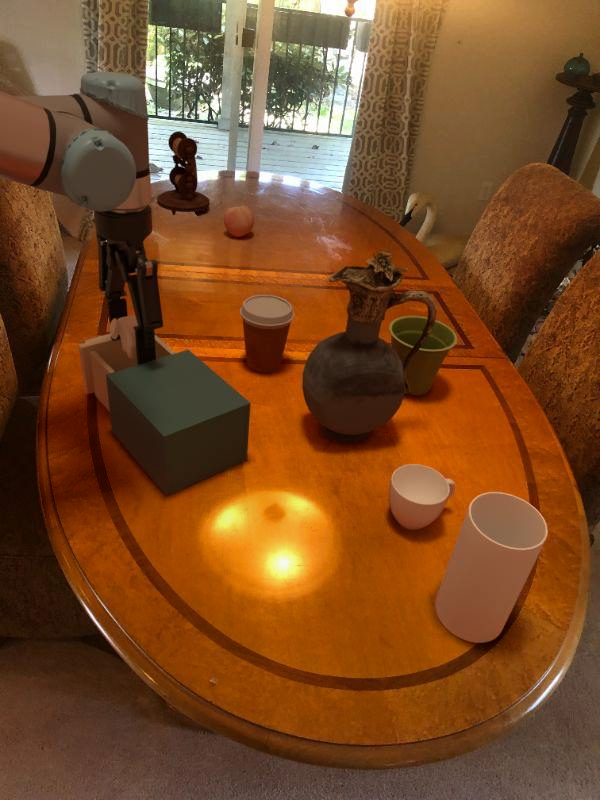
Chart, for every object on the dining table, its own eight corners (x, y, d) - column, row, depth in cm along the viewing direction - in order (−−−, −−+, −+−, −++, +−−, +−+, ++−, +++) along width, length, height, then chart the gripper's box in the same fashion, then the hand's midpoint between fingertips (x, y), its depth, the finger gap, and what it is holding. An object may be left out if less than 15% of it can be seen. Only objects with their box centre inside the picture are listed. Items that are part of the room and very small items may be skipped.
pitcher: (290, 412, 103) (309, 240, 85) (396, 405, 107) (435, 240, 90) (306, 455, 94) (331, 273, 77) (421, 445, 99) (469, 271, 81)
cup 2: (423, 616, 73) (456, 523, 63) (451, 572, 78) (485, 480, 69) (489, 656, 69) (534, 563, 60) (513, 607, 75) (557, 515, 66)
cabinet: (111, 432, 94) (105, 374, 88) (188, 404, 102) (188, 349, 96) (166, 496, 84) (163, 436, 78) (247, 460, 92) (250, 402, 86)
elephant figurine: (145, 335, 100) (143, 302, 96) (165, 358, 94) (163, 324, 91) (104, 344, 96) (100, 310, 93) (122, 369, 91) (119, 334, 88)
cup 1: (372, 506, 87) (380, 470, 83) (431, 490, 91) (441, 455, 87) (401, 546, 81) (411, 510, 77) (462, 527, 85) (475, 492, 81)
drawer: (71, 375, 104) (64, 329, 99) (138, 355, 111) (135, 311, 106) (128, 442, 91) (124, 393, 86) (200, 415, 98) (200, 368, 93)
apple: (247, 229, 168) (249, 200, 164) (257, 240, 163) (259, 210, 158) (219, 231, 165) (220, 201, 161) (228, 242, 160) (229, 211, 155)
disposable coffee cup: (296, 374, 112) (303, 315, 105) (247, 381, 109) (250, 321, 102) (278, 347, 119) (283, 291, 112) (231, 353, 116) (233, 296, 109)
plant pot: (368, 389, 110) (378, 335, 104) (391, 361, 119) (402, 309, 113) (430, 412, 106) (446, 357, 100) (450, 381, 115) (465, 328, 109)
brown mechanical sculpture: (217, 214, 175) (219, 140, 164) (168, 219, 169) (165, 142, 157) (197, 197, 185) (197, 127, 174) (150, 201, 179) (146, 128, 167)
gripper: (63, 184, 86) (81, 327, 99) (133, 235, 74) (143, 390, 87) (113, 178, 90) (124, 316, 104) (188, 225, 78) (189, 375, 91)
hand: (133, 350), depth 95 cm, fingers closed on elephant figurine, 8 cm apart
